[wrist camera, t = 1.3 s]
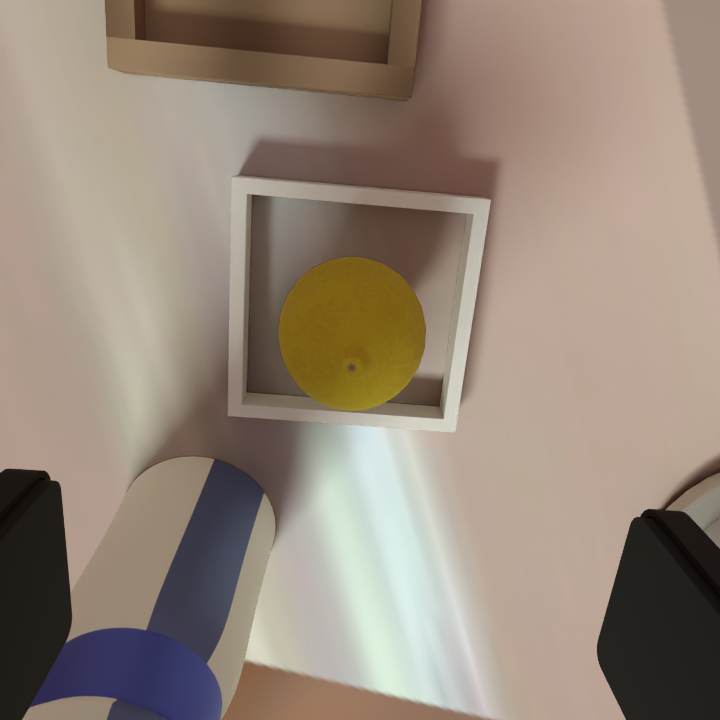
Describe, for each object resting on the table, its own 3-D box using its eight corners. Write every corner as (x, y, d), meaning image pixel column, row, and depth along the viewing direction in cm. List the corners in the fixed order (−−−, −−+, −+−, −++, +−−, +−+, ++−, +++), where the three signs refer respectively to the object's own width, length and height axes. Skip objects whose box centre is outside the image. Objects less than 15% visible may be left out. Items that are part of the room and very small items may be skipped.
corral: (483, 197, 25) (491, 200, 24) (450, 419, 29) (455, 432, 27) (237, 175, 25) (231, 176, 23) (233, 403, 28) (227, 415, 27)
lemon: (332, 216, 25) (325, 246, 18) (439, 288, 26) (474, 344, 19) (265, 323, 27) (232, 391, 19) (369, 386, 28) (376, 474, 20)
